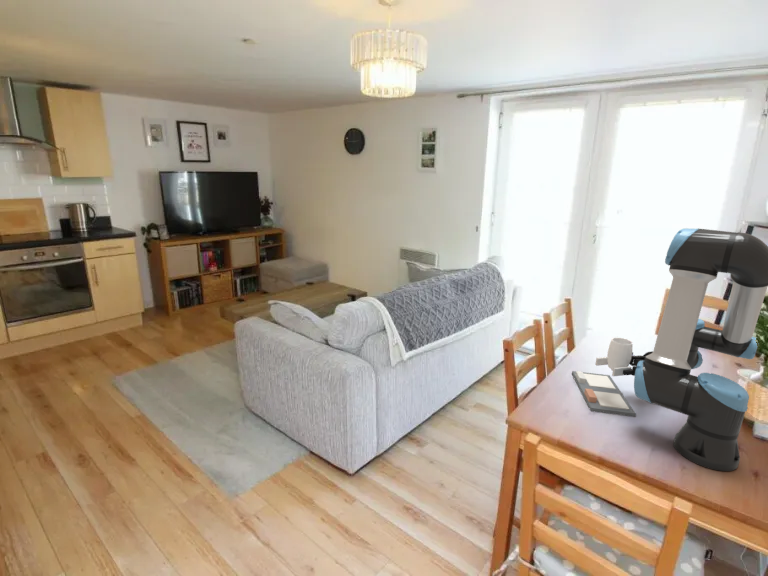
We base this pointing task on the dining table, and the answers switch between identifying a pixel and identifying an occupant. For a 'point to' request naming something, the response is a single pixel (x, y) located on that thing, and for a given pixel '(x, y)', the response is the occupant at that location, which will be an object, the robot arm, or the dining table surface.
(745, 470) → the dining table surface
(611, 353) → the cup
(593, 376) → the coaster board
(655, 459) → the dining table surface
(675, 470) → the dining table surface
